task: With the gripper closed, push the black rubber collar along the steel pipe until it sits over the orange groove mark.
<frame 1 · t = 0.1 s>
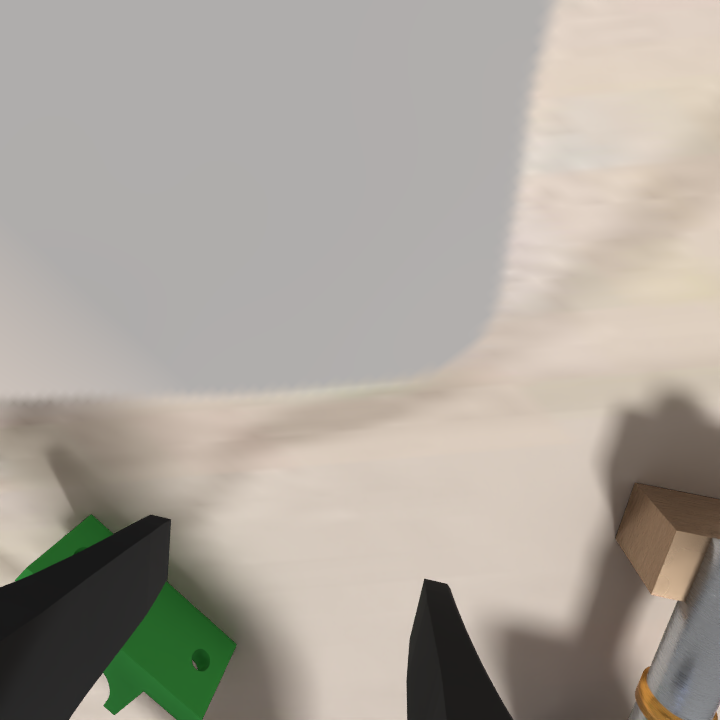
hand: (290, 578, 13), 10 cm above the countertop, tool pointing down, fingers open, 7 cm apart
pipe rig: (612, 694, 24), on the countertop
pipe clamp: (150, 591, 27), on the countertop
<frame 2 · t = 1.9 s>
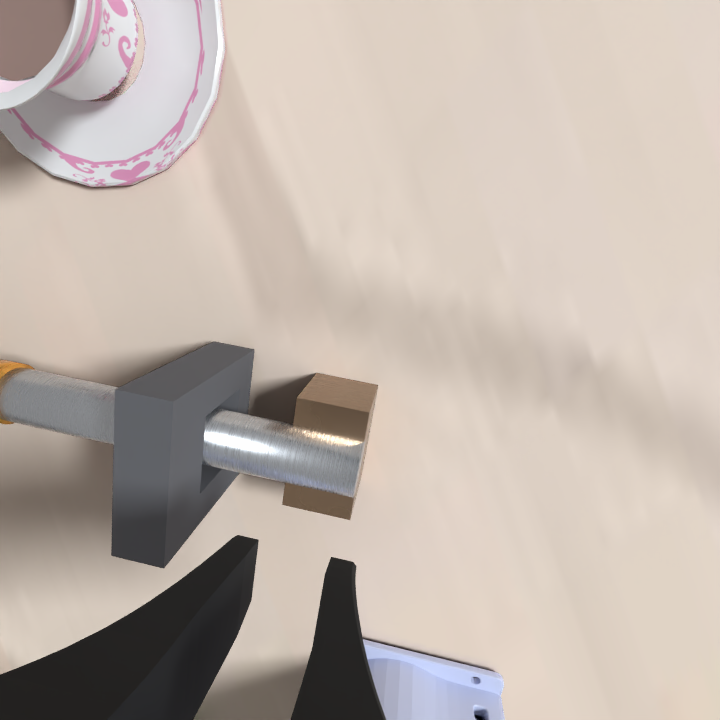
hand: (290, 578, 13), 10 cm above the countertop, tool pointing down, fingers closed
teacup: (98, 42, 20), on the countertop
pipe rig: (138, 384, 23), on the countertop
collar: (192, 438, 19), point 4 cm above the countertop, slide at 0.0 cm
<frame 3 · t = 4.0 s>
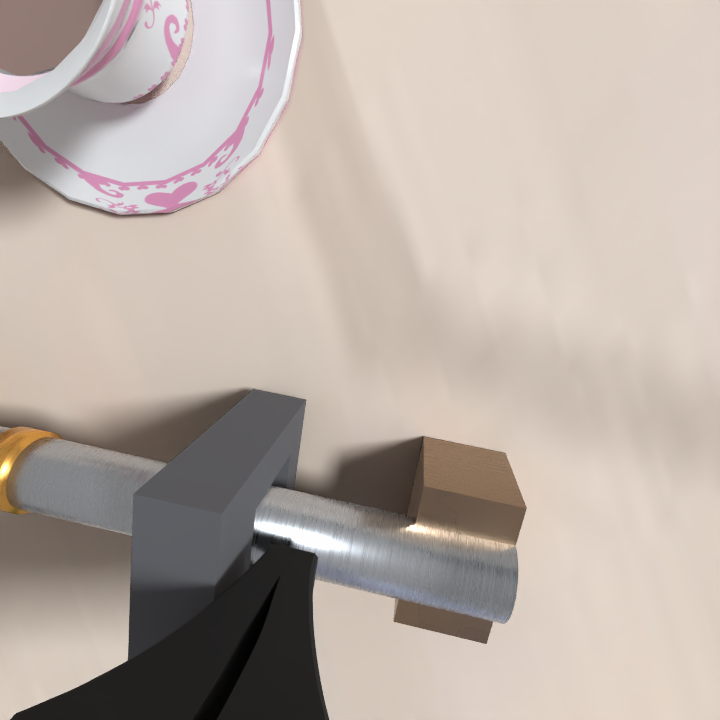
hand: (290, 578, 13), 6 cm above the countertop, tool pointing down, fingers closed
teacup: (129, 27, 15), on the countertop
pipe rig: (189, 447, 18), on the countertop
collar: (232, 528, 14), point 4 cm above the countertop, slide at 1.5 cm, touching gripper
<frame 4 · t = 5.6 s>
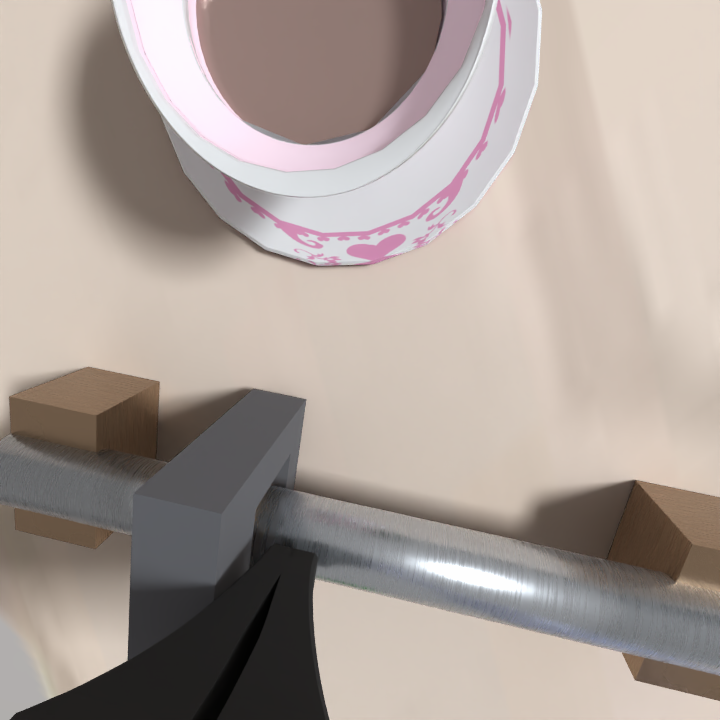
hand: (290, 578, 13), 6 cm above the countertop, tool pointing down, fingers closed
teacup: (341, 75, 15), on the countertop
pipe rig: (375, 487, 18), on the countertop
collar: (232, 528, 14), point 4 cm above the countertop, slide at 9.1 cm, touching gripper
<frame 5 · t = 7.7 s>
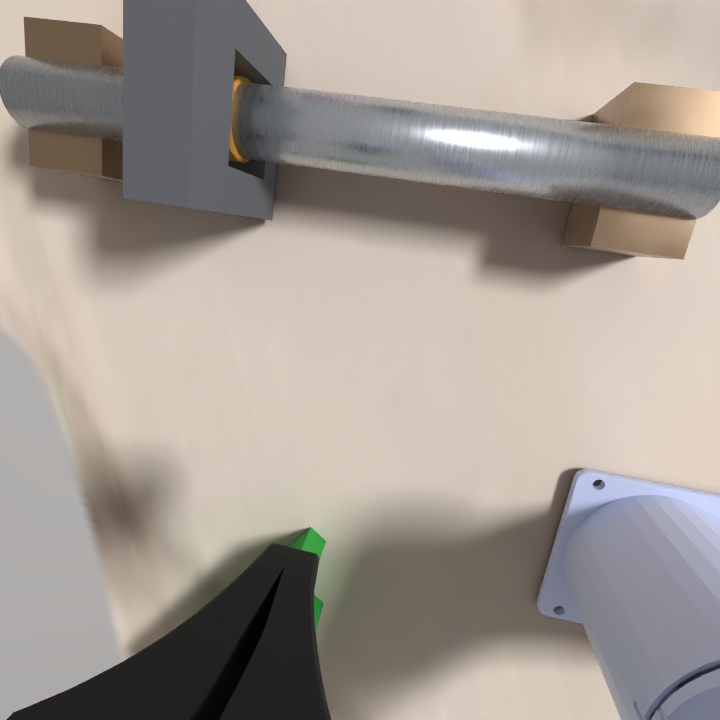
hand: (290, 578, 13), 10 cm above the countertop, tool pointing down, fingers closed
pipe rig: (357, 153, 19), on the countertop
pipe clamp: (268, 600, 26), on the countertop
collar: (217, 114, 16), point 4 cm above the countertop, slide at 9.3 cm
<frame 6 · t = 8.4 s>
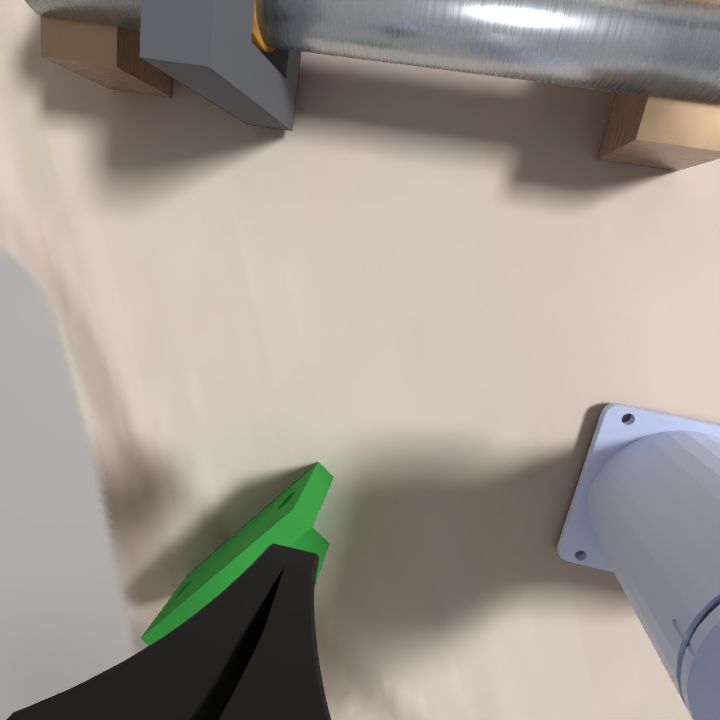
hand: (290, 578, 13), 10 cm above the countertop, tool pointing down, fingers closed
pipe rig: (384, 58, 18), on the countertop
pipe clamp: (272, 541, 25), on the countertop
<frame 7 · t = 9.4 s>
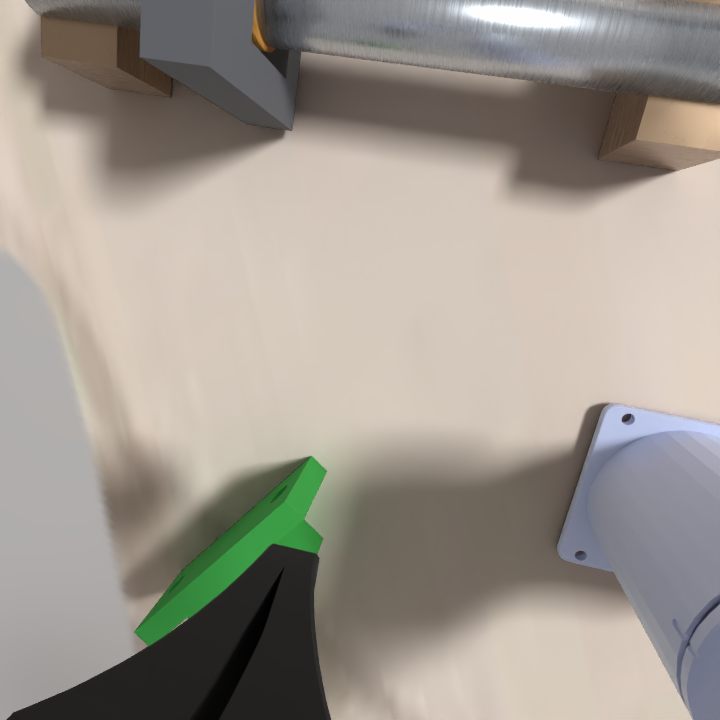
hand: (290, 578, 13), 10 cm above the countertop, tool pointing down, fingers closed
pipe rig: (384, 58, 18), on the countertop
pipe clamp: (266, 536, 25), on the countertop
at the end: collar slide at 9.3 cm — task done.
